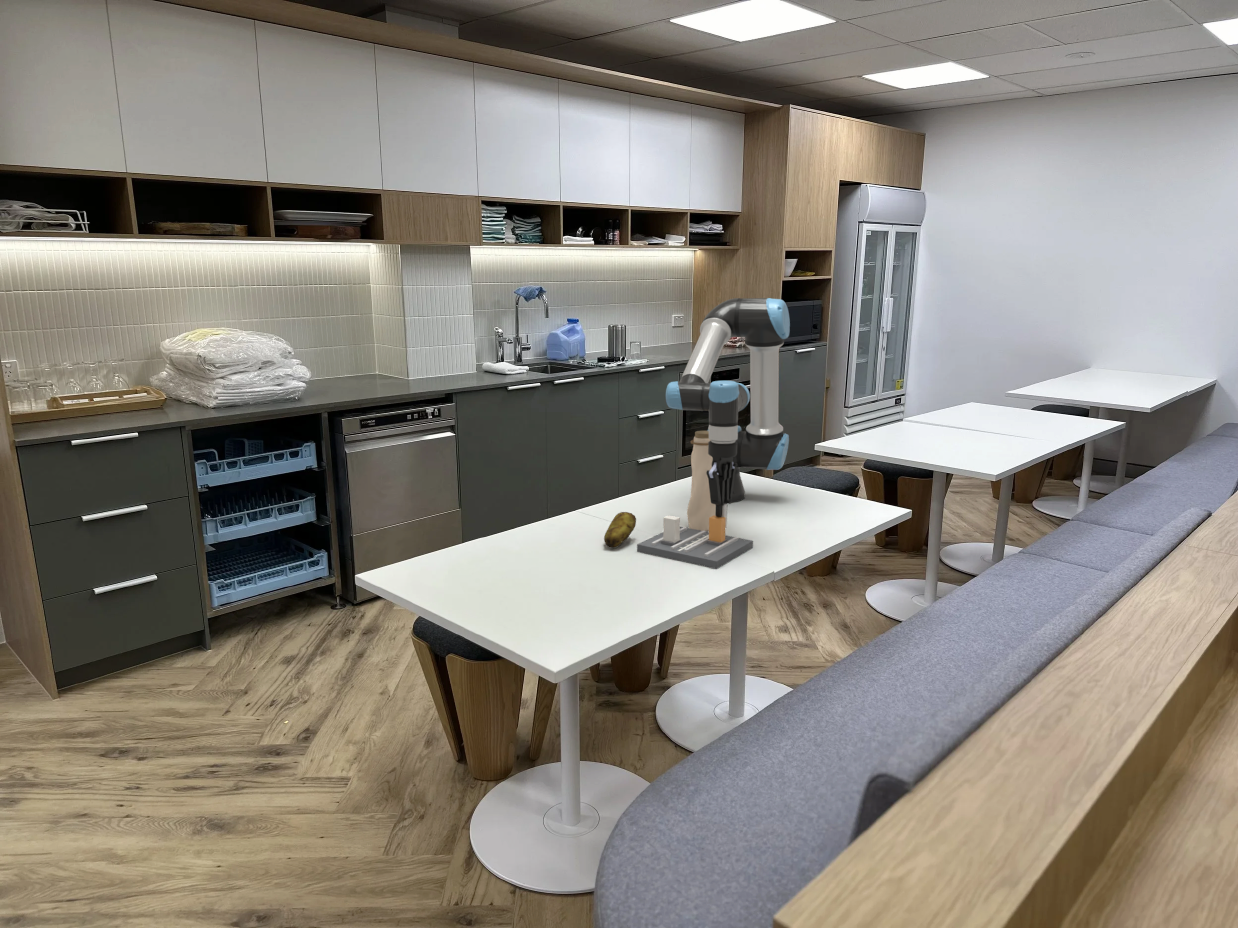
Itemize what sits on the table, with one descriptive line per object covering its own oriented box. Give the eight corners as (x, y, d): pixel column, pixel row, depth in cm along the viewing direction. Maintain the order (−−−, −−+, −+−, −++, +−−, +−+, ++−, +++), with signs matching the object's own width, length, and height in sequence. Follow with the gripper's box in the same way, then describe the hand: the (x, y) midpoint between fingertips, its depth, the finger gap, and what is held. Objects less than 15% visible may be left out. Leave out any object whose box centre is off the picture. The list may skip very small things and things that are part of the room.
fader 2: (713, 539, 232) (714, 514, 230) (727, 542, 229) (727, 517, 228) (706, 543, 229) (707, 518, 227) (719, 546, 226) (720, 520, 225)
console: (676, 532, 245) (676, 523, 244) (752, 547, 231) (753, 538, 231) (637, 551, 229) (637, 541, 228) (716, 568, 215) (716, 558, 215)
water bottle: (722, 522, 254) (724, 429, 247) (722, 532, 245) (724, 435, 239) (687, 522, 255) (688, 429, 248) (686, 531, 246) (687, 435, 240)
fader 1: (669, 539, 232) (669, 514, 230) (681, 542, 230) (682, 517, 228) (661, 543, 229) (661, 518, 227) (673, 546, 227) (674, 520, 225)
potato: (591, 545, 234) (591, 517, 232) (623, 534, 243) (623, 507, 241) (614, 552, 228) (614, 523, 227) (645, 540, 238) (645, 513, 236)
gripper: (722, 435, 232) (720, 519, 237) (697, 443, 221) (696, 531, 227) (747, 438, 227) (744, 523, 233) (723, 446, 217) (721, 536, 222)
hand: (720, 527), depth 230 cm, fingers closed
